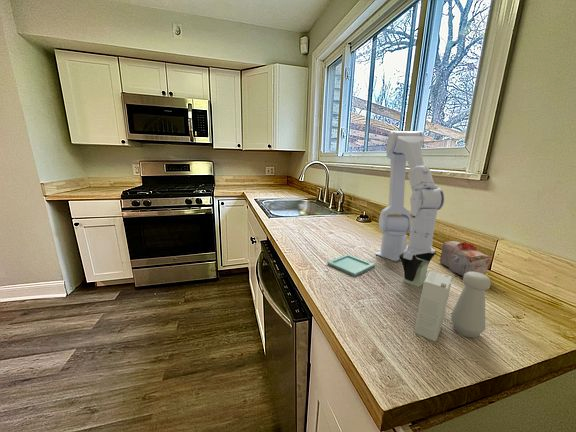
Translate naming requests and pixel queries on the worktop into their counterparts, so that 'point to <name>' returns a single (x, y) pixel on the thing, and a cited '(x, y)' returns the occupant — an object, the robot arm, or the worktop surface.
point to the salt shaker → (471, 305)
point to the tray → (351, 265)
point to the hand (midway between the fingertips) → (414, 275)
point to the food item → (463, 258)
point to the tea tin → (419, 274)
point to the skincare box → (432, 305)
